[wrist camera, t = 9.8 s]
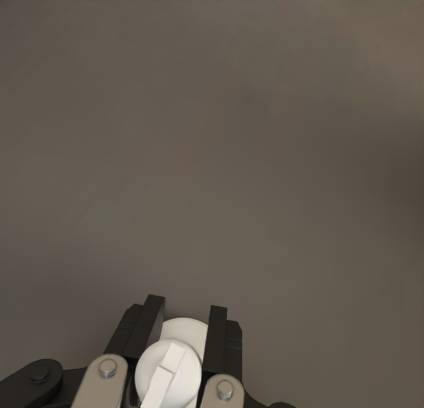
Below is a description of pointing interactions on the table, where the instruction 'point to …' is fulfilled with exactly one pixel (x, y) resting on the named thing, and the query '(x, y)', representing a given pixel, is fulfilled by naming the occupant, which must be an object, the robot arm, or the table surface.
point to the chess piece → (172, 366)
